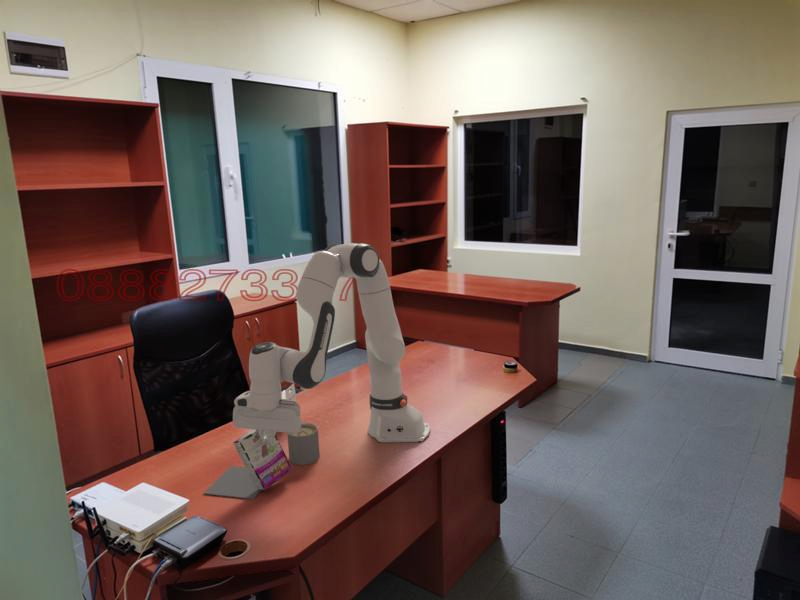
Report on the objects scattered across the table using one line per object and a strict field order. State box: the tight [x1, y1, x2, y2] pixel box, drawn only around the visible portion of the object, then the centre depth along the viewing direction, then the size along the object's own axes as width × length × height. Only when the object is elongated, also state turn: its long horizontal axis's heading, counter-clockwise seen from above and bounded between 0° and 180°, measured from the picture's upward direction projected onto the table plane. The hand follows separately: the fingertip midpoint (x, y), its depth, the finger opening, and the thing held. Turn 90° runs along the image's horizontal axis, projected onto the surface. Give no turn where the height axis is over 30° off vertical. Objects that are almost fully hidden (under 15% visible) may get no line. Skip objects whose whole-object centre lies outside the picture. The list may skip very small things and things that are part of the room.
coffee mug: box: [286, 422, 320, 466], centre depth 187 cm, size 13×10×10 cm
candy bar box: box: [232, 429, 293, 491], centre depth 168 cm, size 11×5×16 cm, turn 141°
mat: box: [203, 465, 262, 501], centre depth 172 cm, size 16×16×1 cm
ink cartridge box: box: [281, 383, 297, 405], centre depth 211 cm, size 9×5×15 cm, turn 168°
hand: (268, 443), depth 166 cm, fingers closed
